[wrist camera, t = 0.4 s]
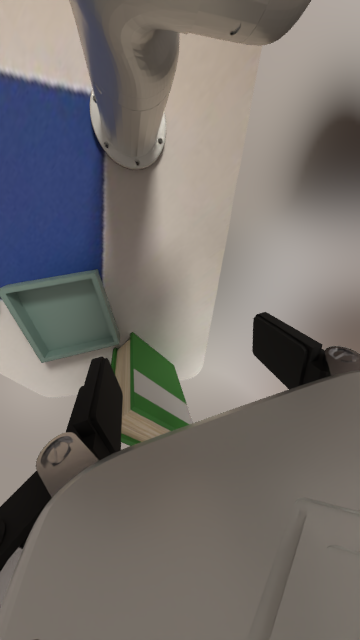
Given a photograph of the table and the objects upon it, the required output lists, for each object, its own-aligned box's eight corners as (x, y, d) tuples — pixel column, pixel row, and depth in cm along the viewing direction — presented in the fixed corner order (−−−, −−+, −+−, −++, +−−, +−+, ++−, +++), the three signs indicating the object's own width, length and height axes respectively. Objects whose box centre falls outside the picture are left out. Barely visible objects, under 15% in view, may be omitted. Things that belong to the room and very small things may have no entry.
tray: (8, 284, 38) (-4, 289, 34) (97, 269, 41) (94, 272, 37) (47, 353, 46) (41, 362, 43) (120, 336, 49) (119, 344, 45)
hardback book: (113, 349, 50) (101, 434, 29) (132, 332, 49) (134, 406, 28) (156, 379, 58) (171, 462, 37) (173, 365, 58) (199, 441, 37)
